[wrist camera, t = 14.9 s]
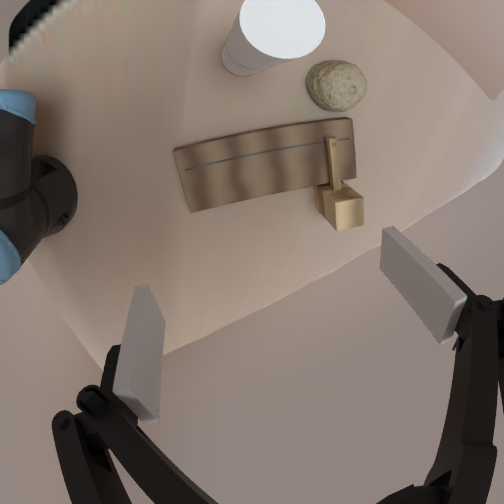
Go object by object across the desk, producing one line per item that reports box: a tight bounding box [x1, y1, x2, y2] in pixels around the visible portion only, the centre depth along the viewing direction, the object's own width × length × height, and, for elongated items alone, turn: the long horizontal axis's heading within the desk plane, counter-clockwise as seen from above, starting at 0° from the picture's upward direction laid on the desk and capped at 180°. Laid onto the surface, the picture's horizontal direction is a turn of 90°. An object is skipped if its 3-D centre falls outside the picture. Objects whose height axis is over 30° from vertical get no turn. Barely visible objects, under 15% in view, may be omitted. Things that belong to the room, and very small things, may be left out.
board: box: [174, 117, 356, 213], centre depth 48 cm, size 30×11×3 cm, turn 100°
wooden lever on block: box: [314, 137, 364, 231], centre depth 47 cm, size 5×14×10 cm, turn 10°
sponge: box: [306, 61, 367, 112], centre depth 41 cm, size 9×10×10 cm
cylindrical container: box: [222, 0, 325, 76], centre depth 29 cm, size 7×7×25 cm
